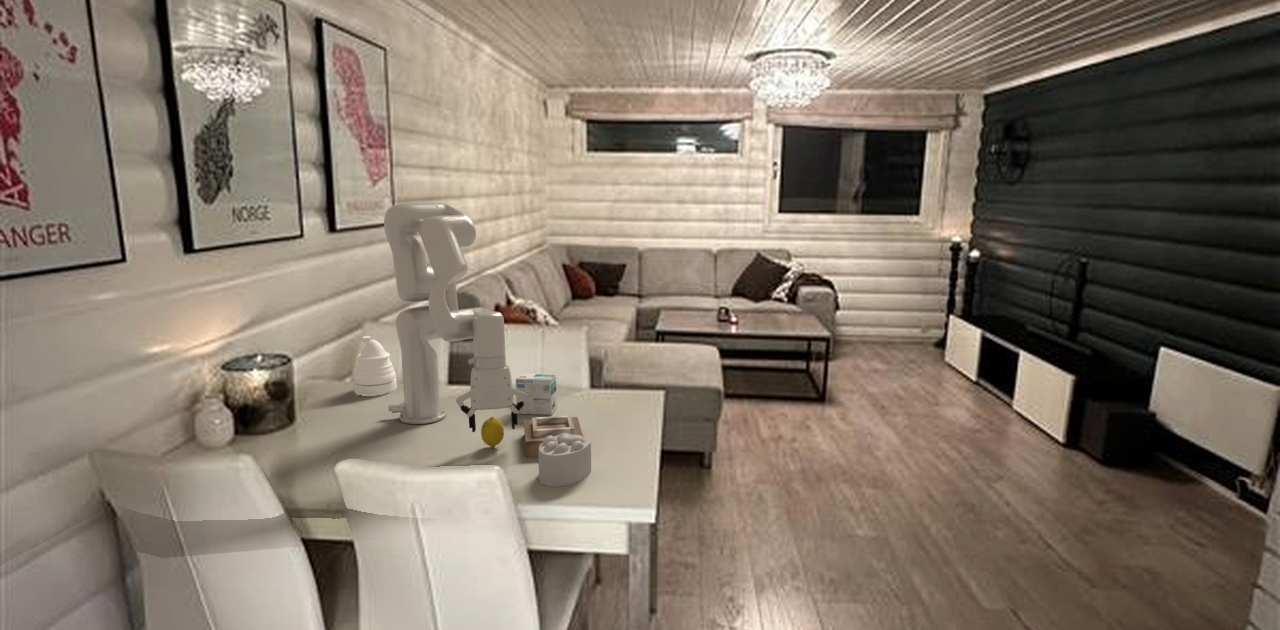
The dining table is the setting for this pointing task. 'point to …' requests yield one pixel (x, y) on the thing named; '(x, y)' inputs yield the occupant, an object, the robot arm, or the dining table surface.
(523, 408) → the light bulb box
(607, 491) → the dining table surface
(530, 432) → the walnut plinth
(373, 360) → the honey pot
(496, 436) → the lemon
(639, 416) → the dining table surface
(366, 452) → the dining table surface
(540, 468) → the lumpy-topped squat cylinder
